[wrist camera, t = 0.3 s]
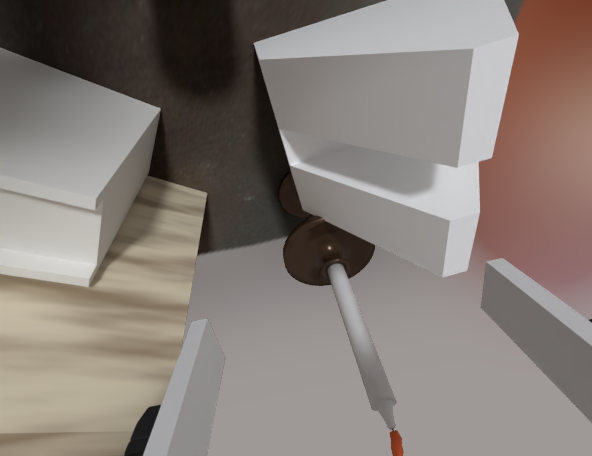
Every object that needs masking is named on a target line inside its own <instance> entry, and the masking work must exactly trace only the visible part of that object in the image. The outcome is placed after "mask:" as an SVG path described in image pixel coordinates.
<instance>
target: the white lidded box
mask: <svg viewBox="0 0 592 456" xmlns="http://www.w3.org/2000/svg"><path fill="white" fill-rule="evenodd" d="M160 111H161V109H160V108H157V107H155V106H152V105H150V104H147V103H144V102H142V101H139V100H136V99H134V98H131V97H129V96H126V95H123V94H121V93H118V92H115V91H113V90H110V89H108V88H105V87H102V86H100V85H97V84H94V83H92V82H89V81H87V80H84V79H81V78H79V77H76V76H73V75H71V74H68V73H66V72H63V71H60V70H58V69H55V68H53V67H50V66H47V65H45V64H42V63H39V62H37V61H34V60H32V59H29V58H26V57H24V56H21V55H18V54H16V53H13V52H11V51H8V50H5V49H3V48H0V274H4V275H11V276H18V277H24V278H31V279H38V280H45V281H52V282H58V283H65V284H72V285H79V286H85V287H89V285H90V283H91V281H92V280H93V278H94V276H95V274H96V272H97V270H98V268H99V266H100V264H101V262H102V261H103V259H104V257H105V255H106V253H107V251H108V249H109V247H110V245H111V243H112V242H113V240H114V238H115V236H116V234H117V232H118V230H119V228H120V226H121V224H122V223H123V221H124V219H125V217H126V215H127V213H128V211H129V209H130V207H131V205H132V204H133V202H134V200H135V198H136V196H137V194H138V192H139V190H140V188H141V186H142V185H143V183H144V181H145V179H146V177H147V175H148V173H149V169H150V164H151V158H152V153H153V148H154V143H155V137H156V132H157V127H158V122H159V117H160Z"/></svg>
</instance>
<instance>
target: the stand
mask: <svg viewBox="0 0 592 456" xmlns="http://www.w3.org/2000/svg"><path fill="white" fill-rule="evenodd" d="M206 198H207V193H205V192H202V191H199V190H195V189H192V188H188V187H185V186H182V185H178V184H175V183H171V182H168V181H165V180H161V179H158V178H154V177H151V176H148V175H147V177H146V179H145V181H144V183H143V185H142V186H141V188H140V190H139V192H138V194H137V196H136V198H135V200H134V202H133V204H132V205H131V207H130V209H129V211H128V213H127V215H126V217H125V219H124V221H123V223H122V224H121V226H120V228H119V230H118V232H117V234H116V236H115V238H114V240H113V242H112V243H111V245H110V247H109V249H108V251H107V253H106V255H105V257H104V259H103V261H102V262H101V264H100V266H99V268H98V270H97V272H96V274H95V276H94V278H93V280H92V281H91V283H90V285H89V287H85V286H79V285H72V284H65V283H58V282H52V281H45V280H38V279H31V278H24V277H18V276H11V275H4V274H0V456H124V455H125V454H124V453H125V450H126V448H127V445H128V443H129V442H130V438H131V436H132V433H133V431H134V429H135V426H136V424H137V422H138V420H139V419H140V418H141V416H142V415H143V414H144V412H145V411H146V410H147V408H148V407H151V406H156V405H161V404H162V402H163V399H164V396H165V394H166V391H167V388H168V385H169V383H170V380H171V377H172V374H173V372H174V369H175V366H176V363H177V361H178V358H179V355H180V352H181V349H182V343H183V336H184V331H185V325H186V318H187V313H188V307H189V301H190V295H191V288H192V282H193V276H194V270H195V264H196V258H197V252H198V246H199V240H200V234H201V228H202V222H203V216H204V210H205V204H206Z"/></svg>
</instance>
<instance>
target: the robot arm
mask: <svg viewBox="0 0 592 456" xmlns="http://www.w3.org/2000/svg"><path fill="white" fill-rule="evenodd" d="M481 308H482V309H483V310H484V311H485V312H486V313H487V314H488V315H489V316H490V317H491V318H492V320H493V321H494V322H496V324H497V325H498V326H499V327H500V328H501V329H502V330H503V331H504V332H505V333H506V334H507V335H508V336H509V337H510V338H511V339H512V340H513V341H514V342H515V343H516V344H517V346H518V347H519V348H520V349H521V350H522V351H523V352H524V353H525V354H526V355H527V356H528V357H529V358H530V359H531V360H532V361H533V362H534V363H535V364H536V365H537V366H538V367H539V368H540V369H541V370H542V371H543V373H544V374H545V375H546V376H547V377H548V378H549V379H550V380H551V381H552V382H553V383H554V384H555V385H556V386H557V387H558V388H559V389H560V390H561V391H562V392H563V393H564V394H565V395H566V396H567V397H568V398H569V399H570V401H571V402H572V403H573V404H574V405H576V407H577V408H578V409H579V410H580V411H581V412H582V413H583V414H584V415H585V416H586V417H587V418H588V419H589V420H590V421H591V422H592V319H590V320H587V319H586V318H584V317H583V316H582V315H580V314H579V313H577V312H576V311H575V310H573V309H572V308H571V307H569V306H568V305H566V304H565V303H564V302H562V301H561V300H559V299H558V298H557V297H555V296H554V295H553V294H551V293H550V292H549V291H547V290H546V289H544V288H543V287H542V286H540V285H539V284H538V283H536V282H535V281H533V280H532V279H530V278H529V277H528V276H526V275H525V274H524V273H522V272H521V271H520V270H518V269H517V268H515V267H514V266H513V265H511V264H510V263H508V262H507V261H506V260H504V259H503V258H501V259H497V260H491V261H487V262H486V266H485V275H484V284H483V293H482V302H481ZM224 362H225V356H224V354H223V352H222V350H221V347H220V345H219V343H218V341H217V338H216V336H215V334H214V331H213V329H212V327H211V325H210V323H209V320H208V318H206V319H201V320H196V321H192V322H191V325H190V328H189V330H188V333H187V336H186V339H185V341H184V344H183V347H182V350H181V352H180V355H179V358H178V361H177V363H176V366H175V369H174V372H173V374H172V377H171V380H170V383H169V385H168V388H167V391H166V394H165V396H164V399H163V402H162V404H161V405H156V406H151V407H148V408H147V410H146V411H145V412H144V414H143V415H142V416H141V418H140V419H139V420H138V422H137V424H136V426H135V429H134V431H133V433H132V436H131V438H130V442H129V443H128V445H127V448H126V450H125V453H124V454H125V455H124V456H207V454H208V449H209V443H210V438H211V432H212V427H213V422H214V416H215V411H216V406H217V400H218V395H219V390H220V384H221V379H222V373H223V368H224Z"/></svg>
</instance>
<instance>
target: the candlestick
mask: <svg viewBox="0 0 592 456" xmlns="http://www.w3.org/2000/svg"><path fill="white" fill-rule="evenodd" d="M279 199H280V203H281V205H282V207H283V208H284V209H285V211H287V212H288V213H289V214H291V215H293V216H296V217H300V218H308V219H307V220H305V221H303V222H302V223H301V224H299V225H298V226H297V227H296V228H295V229H294V230H293V231H292V232H291V233H290V234H289V236H288V238H287V240H286V241H285V245H284V248H283V257H284V263H285V267H286V269H287V271H288V273H289V274H290V275H291V276H292V277H293V278H295V279H296V280H298V281H300V282H302V283H305V284H309V285H316V286H324V285H332V287H333V291H334V294H335V297H336V300H337V303H338V306H339V309H340V312H341V315H342V318H343V322H344V325H345V327H346V331H347V334H348V337H349V340H350V343H351V346H352V349H353V352H354V355H355V358H356V362H357V364H358V368H359V371H360V374H361V377H362V380H363V383H364V386H365V389H366V392H367V395H368V398H369V402H370V405H371V408H372V410H375V411H379V412H380V414H381V416H382V417H383V419H384V421H385V422H386V424H387V427H388V428H389V429H392V430H393V429H394V428H395V422H394V417H393V409H392V406H394V405H395V404H396V400H395V397H394V394H393V392H392V389H391V387H390V385H389V382H388V379H387V377H386V374H385V371H384V369H383V366H382V364H381V361H380V359H379V356H378V354H377V351H376V349H375V346H374V343H373V341H372V338H371V336H370V333H369V331H368V328H367V325H366V323H365V321H364V318H363V315H362V313H361V310H360V308H359V305H358V303H357V300H356V297H355V295H354V292H353V290H352V287H351V285H350V282H349V280H348V279H349V278H351V277H353V276H354V275H356V274H357V273H359V272H360V271H361V270H362V269H363V268H364V267H365V266H366V265H367V264H368V263H369V261H370V259H371V258H372V256H373V253H374V250H375V245H374V244H372V243H370V242H368V241H366V240H364V239H362V238H360V237H358V236H356V235H354V234H351V233H349V232H347V231H345V230H343V229H341V228H339V227H337V226H335V225H333V224H331V223H329V222H327V221H325V219H324V218H322V217H320V216H318V215H316V216H314V215H312V214H310V213H308V212H306V211H304V210H303V209H302V206H301V202H300V199H299V196H298V193H297V189H296V186H295V183H294V179H293V176H292V173H291V171H290V172H289V173H287V174H286V175H285V177H284V178H283V179H282V181H281V183H280V186H279ZM390 437H391V450H392V454H393V456H403V453H404V452H403V448H402V438H401V436H400V434H399V433H398V431H396V430H395V431H394V430H393V431H392V432H390Z"/></svg>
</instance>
